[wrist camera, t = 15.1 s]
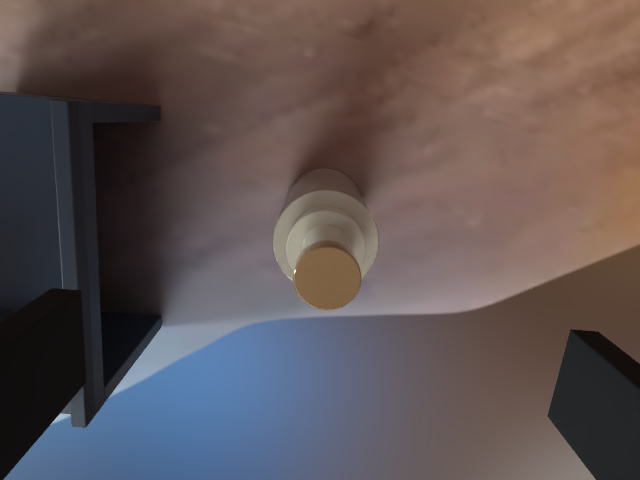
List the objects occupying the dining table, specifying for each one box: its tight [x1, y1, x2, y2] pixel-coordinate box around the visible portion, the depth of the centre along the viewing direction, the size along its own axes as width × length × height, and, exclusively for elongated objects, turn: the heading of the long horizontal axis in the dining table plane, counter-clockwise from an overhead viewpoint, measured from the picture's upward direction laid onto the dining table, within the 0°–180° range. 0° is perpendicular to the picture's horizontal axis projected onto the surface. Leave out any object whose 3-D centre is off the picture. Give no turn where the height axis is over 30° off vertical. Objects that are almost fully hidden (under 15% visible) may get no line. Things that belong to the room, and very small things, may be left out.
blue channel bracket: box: [0, 92, 161, 427], centre depth 28 cm, size 17×10×12 cm, turn 175°
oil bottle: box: [273, 169, 379, 310], centre depth 26 cm, size 6×6×15 cm
